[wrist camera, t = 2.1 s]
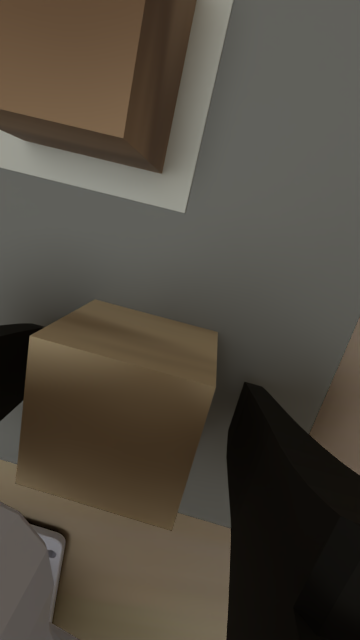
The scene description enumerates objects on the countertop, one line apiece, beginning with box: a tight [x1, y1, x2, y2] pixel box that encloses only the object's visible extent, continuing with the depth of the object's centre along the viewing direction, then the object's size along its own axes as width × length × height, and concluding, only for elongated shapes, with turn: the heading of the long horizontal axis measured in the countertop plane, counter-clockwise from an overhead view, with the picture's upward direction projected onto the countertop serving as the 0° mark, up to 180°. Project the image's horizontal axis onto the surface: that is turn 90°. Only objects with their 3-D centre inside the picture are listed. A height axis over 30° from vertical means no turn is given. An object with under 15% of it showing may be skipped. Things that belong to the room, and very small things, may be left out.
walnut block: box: [0, 0, 197, 174], centre depth 7 cm, size 4×4×4 cm
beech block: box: [15, 299, 218, 531], centre depth 10 cm, size 4×4×4 cm
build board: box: [0, 0, 360, 528], centre depth 11 cm, size 20×15×1 cm
